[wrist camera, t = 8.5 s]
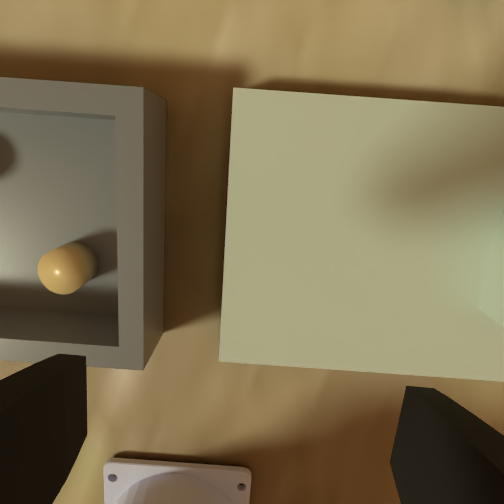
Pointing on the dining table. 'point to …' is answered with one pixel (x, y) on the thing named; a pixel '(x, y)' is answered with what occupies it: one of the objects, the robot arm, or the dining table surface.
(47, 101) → the tub
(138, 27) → the dining table surface
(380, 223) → the lid
